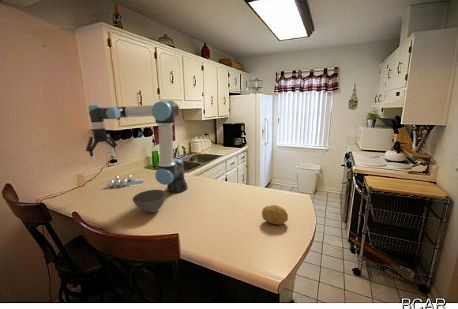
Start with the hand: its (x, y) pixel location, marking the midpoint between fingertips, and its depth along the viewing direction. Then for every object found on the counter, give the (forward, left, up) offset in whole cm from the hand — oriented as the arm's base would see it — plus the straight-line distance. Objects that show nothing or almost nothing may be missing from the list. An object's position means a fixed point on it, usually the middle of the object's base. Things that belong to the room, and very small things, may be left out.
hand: (104, 158), depth 152 cm
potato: (-105, +57, -28) cm, 122 cm away
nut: (-1, -19, -26) cm, 32 cm away
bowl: (-36, +32, -28) cm, 55 cm away
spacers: (-1, -19, -27) cm, 33 cm away
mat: (-4, -19, -27) cm, 34 cm away
